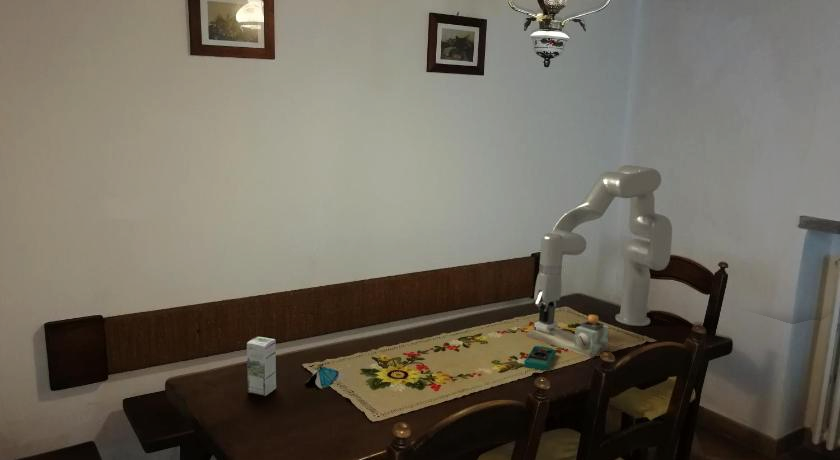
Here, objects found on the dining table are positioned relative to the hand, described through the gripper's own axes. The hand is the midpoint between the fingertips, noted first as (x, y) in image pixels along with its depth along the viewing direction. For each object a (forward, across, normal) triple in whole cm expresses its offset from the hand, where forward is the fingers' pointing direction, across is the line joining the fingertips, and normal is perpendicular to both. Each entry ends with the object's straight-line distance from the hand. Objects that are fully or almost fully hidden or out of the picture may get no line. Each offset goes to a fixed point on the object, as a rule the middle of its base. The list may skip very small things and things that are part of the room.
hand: (546, 319), depth 229 cm
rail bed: (+6, 0, +9) cm, 10 cm away
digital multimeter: (+6, +21, +13) cm, 26 cm away
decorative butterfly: (+6, +83, -18) cm, 85 cm away
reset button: (-4, 0, +18) cm, 18 cm away
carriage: (+4, 0, 0) cm, 4 cm away
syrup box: (+6, +99, -23) cm, 102 cm away
